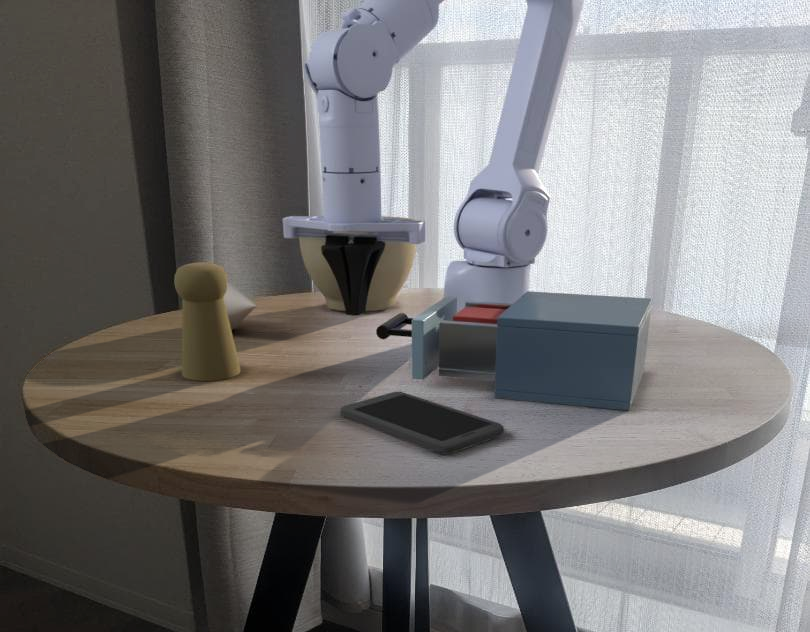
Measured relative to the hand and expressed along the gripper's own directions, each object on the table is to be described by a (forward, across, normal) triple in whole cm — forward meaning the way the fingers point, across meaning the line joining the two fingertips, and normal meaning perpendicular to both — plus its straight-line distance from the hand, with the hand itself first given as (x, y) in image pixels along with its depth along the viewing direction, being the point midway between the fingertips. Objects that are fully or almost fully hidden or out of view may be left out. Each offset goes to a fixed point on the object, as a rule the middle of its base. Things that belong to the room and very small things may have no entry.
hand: (355, 313), depth 90 cm
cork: (+6, -14, -7) cm, 16 cm away
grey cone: (+6, -21, +9) cm, 23 cm away
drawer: (+5, +11, 0) cm, 12 cm away
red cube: (+4, +13, 0) cm, 14 cm away
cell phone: (+6, +12, -16) cm, 21 cm away
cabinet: (+6, +23, 0) cm, 23 cm away
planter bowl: (+6, -11, +28) cm, 31 cm away
